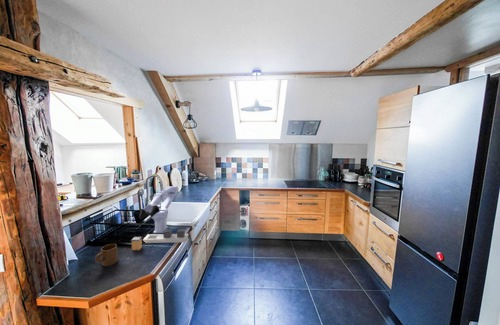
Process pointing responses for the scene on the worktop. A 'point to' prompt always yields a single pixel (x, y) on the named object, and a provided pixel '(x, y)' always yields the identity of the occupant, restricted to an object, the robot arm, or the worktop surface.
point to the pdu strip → (164, 240)
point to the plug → (136, 243)
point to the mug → (108, 255)
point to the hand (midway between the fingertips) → (145, 217)
